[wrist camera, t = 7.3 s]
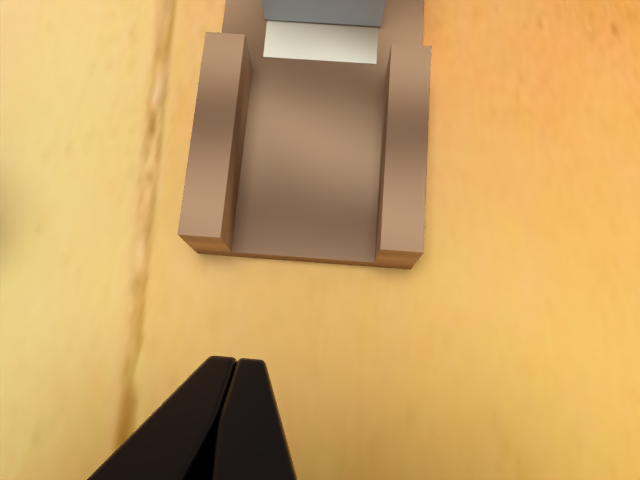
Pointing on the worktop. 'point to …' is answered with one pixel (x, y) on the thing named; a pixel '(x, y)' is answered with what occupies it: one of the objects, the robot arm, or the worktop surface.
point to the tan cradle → (311, 139)
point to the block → (326, 11)
